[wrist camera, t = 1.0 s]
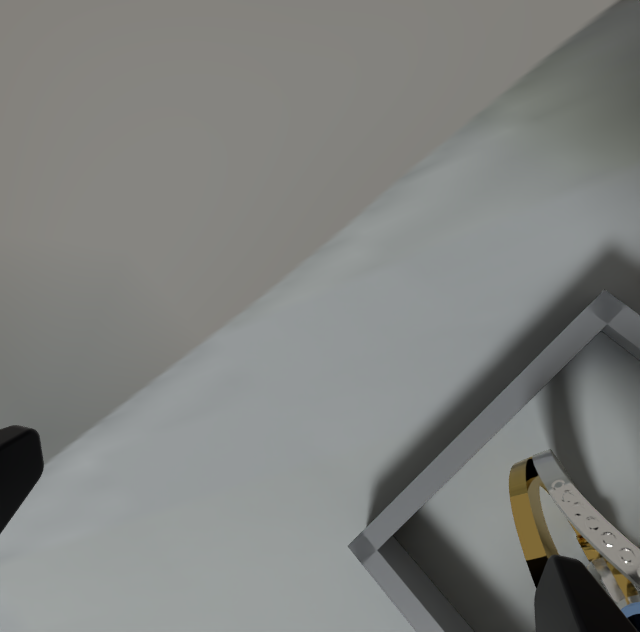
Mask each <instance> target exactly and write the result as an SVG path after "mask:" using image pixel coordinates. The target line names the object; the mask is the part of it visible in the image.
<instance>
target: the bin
mask: <svg viewBox="0 0 640 632" xmlns="http://www.w3.org/2000/svg"><path fill="white" fill-rule="evenodd" d="M600 331H603V332H604V333H605V334H606V335H608V336H609V337H610V338H612V339H613V340H614V341H615V342H617V343H618V344H619V345H620V346H622V347H623V348H624V349H626V350H627V351H628V352H629V353H631V354H632V355H633V356H635V357H636V358H637V359H638V360H640V315H639V314H637V313H636V312H635V311H633V310H632V309H631V308H629V307H628V306H627V305H625V304H624V303H623V302H621V301H620V300H618V299H617V298H616V297H614V296H613V295H612V294H610V293H609V292H608V291H606V290H605V289H604V290H603V291H602V292H601V293H600V294H599V295H598V296H597V297H596V298H595V299H594V300H593V301H592V302H591V303H590V304H589V305H588V306H587V307H586V308H585V309H584V310H583V311H582V312H581V313H580V314H579V315H578V316H577V317H576V318H575V319H574V320H573V321H572V322H571V323H570V324H569V325H568V326H567V327H566V328H565V329H564V330H563V331H562V332H561V333H560V334H559V335H558V336H557V337H556V338H555V339H554V340H553V341H552V342H551V343H550V344H549V345H548V346H547V347H546V348H545V349H544V350H543V351H542V352H541V353H540V354H539V355H538V356H537V357H536V358H535V359H534V360H533V361H532V362H531V363H530V364H529V365H528V366H527V367H526V368H525V369H524V370H523V371H522V372H521V373H520V374H519V375H518V376H517V377H516V378H515V379H514V380H513V381H512V382H511V383H510V384H509V385H508V386H507V387H506V388H505V389H504V390H503V391H502V392H501V393H500V394H499V395H498V396H497V397H496V398H495V399H494V400H493V401H492V402H491V403H490V404H489V405H488V406H487V407H486V408H485V409H484V410H483V411H482V412H481V413H480V414H479V415H478V416H477V417H476V418H475V419H474V420H473V421H472V422H471V423H470V424H469V425H468V426H467V427H466V428H465V429H464V430H463V431H462V432H461V433H460V434H459V435H458V436H457V437H456V438H455V439H454V440H453V441H452V442H451V443H450V444H449V445H448V446H447V447H446V448H445V449H444V450H443V451H442V452H441V453H440V454H439V455H438V456H437V457H436V458H435V459H434V460H433V461H432V462H431V463H430V464H429V465H428V466H427V467H426V468H425V469H424V470H423V471H422V472H421V473H420V474H419V475H418V476H417V477H416V478H415V479H414V480H413V481H412V482H411V483H410V484H409V485H408V486H407V487H406V488H405V489H404V490H403V491H402V492H401V493H400V494H399V495H398V496H397V497H396V498H395V499H394V500H393V501H392V502H391V503H390V504H389V505H388V506H387V507H386V508H385V509H384V510H383V511H382V512H381V513H380V514H379V515H378V516H377V517H376V518H375V519H374V520H373V521H372V522H371V523H370V524H369V525H368V526H367V527H366V528H365V529H364V530H363V531H362V532H361V533H360V534H359V535H358V536H357V537H356V538H355V539H354V540H353V541H352V542H351V543H350V544H349V545H348V547H349V549H350V550H351V551H352V552H353V554H354V555H355V556H356V557H357V559H358V560H359V561H360V562H361V564H362V565H363V566H364V567H365V569H366V570H367V571H368V572H369V574H370V575H371V576H372V577H373V579H374V580H375V581H376V582H377V584H378V585H379V586H380V587H381V589H382V590H383V591H384V592H385V594H386V595H387V596H388V597H389V599H390V600H391V601H392V602H393V603H394V605H395V606H396V607H397V608H398V610H399V611H400V612H401V613H402V615H403V616H404V617H405V618H406V620H407V621H408V622H409V623H410V625H411V626H412V627H413V628H414V630H415V631H416V632H474V631H473V630H472V628H471V627H470V626H469V625H468V624H467V622H466V621H465V620H464V619H463V618H462V617H461V615H460V614H459V613H458V612H457V611H456V610H455V608H454V607H453V606H452V605H451V604H450V602H449V601H448V600H447V599H446V598H445V597H444V595H443V594H442V593H441V592H440V591H439V590H438V588H437V587H436V586H435V585H434V584H433V582H432V581H431V580H430V579H429V578H428V577H427V575H426V574H425V573H424V572H423V571H422V570H421V568H420V567H419V566H418V565H417V564H416V562H415V561H414V560H413V559H412V558H411V557H410V555H409V554H408V553H407V552H406V551H405V550H404V548H403V547H402V546H401V545H400V544H399V543H398V541H397V540H396V539H395V538H394V537H393V534H394V533H395V532H396V531H397V530H398V529H399V528H400V527H401V526H402V525H403V524H404V523H405V522H406V521H408V520H409V519H410V518H411V517H412V516H413V515H414V514H415V513H416V512H417V511H418V510H419V509H420V508H421V507H422V506H423V505H424V504H425V503H426V502H427V501H428V500H429V499H430V498H431V497H432V496H433V495H434V494H435V493H436V492H437V491H438V490H439V489H440V488H441V487H442V486H443V485H444V484H445V483H446V482H447V481H448V480H449V479H450V478H451V477H452V476H453V475H454V474H455V473H456V472H457V471H458V470H459V469H460V468H461V467H463V466H464V465H465V464H466V463H467V462H468V461H469V460H470V459H471V458H472V457H473V456H474V455H475V454H476V453H477V452H478V451H479V450H480V449H481V448H482V447H483V446H484V445H485V444H486V443H487V442H488V441H489V440H490V439H491V438H492V437H493V436H494V435H495V434H496V433H497V432H498V431H499V430H500V429H501V428H502V427H503V426H504V425H505V424H506V423H507V422H508V421H509V420H510V419H511V418H512V417H513V416H514V415H515V414H516V413H517V412H519V411H520V410H521V409H522V408H523V407H524V406H525V405H526V404H527V403H528V402H529V401H530V400H531V399H532V398H533V397H534V396H535V395H536V394H537V393H538V392H539V391H540V390H541V389H542V388H543V387H544V386H545V385H546V384H547V383H548V382H549V381H550V380H551V379H552V378H553V377H554V376H555V375H556V374H557V373H558V372H559V371H560V370H561V369H562V368H563V367H564V366H565V365H566V364H567V363H568V362H569V361H570V360H571V359H572V358H574V357H575V356H576V355H577V354H578V353H579V352H580V351H581V350H582V349H583V348H584V347H585V346H586V345H587V344H588V343H589V342H590V341H591V340H592V339H593V338H594V337H595V336H596V335H597V334H598V333H599V332H600Z"/></svg>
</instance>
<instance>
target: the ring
mask: <svg viewBox="0 0 640 632" xmlns="http://www.w3.org/2000/svg"><path fill="white" fill-rule="evenodd" d="M539 486H541V487H542V488H544V489H545V490H546V491H547V492H548V493H549V495H550V496H551V497H552V499H553V501H554V502H555V504H556V505H557V507H558V508H559V509H560V511H561V512H562V513H563V515H564V516H565V517H566V518H567V519H568V521H569V522H570V524H571V526H572V527H573V529H574V531H575V532H576V534H577V536H576V537H577V540H578V542H579V544H580V545H581V547H582V549H583V551H584V553H585V555H586V557H587V558H588V560H589V561H590V562H591V561H592V563H593V565H594V566H595V568H596V569H595V568H594V566H593V565H592V564H589V565H587V567H586V568H587V569H588V570H589V572H590V573H591V574H592V575H593V577H594V578H595V579H596V580H597V581H598V583H599V584H600V585H601V586H602V588H603V589H604V590H605V591H606V589H605V587H604V585H603V584H602V582H601V581H600V580H601V579H602V581H603V582H604V584H605V586H606V588H607V590H608V591H609V593H610V595H611V597H612V600H613V601H614V602H615V604H616V605H617V606H618V607H619V608H620V610H621V611H622V612H623V613H624V615H625V616H626V617H627V618H628V620H629V621H630V622H631V623H632V624H633V626H634V627H635V628H636V629H637V631H638V632H640V591H637V590H636V588H635V586H636V587H637V588H639V589H640V549H639V548H637V547H636V546H635V545H634V544H633V543H632V542H630V541H629V540H628V539H627V538H626V537H625V536H624V535H622V534H621V533H620V532H619V531H618V530H617V529H616V528H615V527H614V526H613V525H611V524H610V523H609V522H608V521H607V520H606V519H605V518H604V517H603V516H602V515H601V514H600V513H599V512H598V511H597V510H596V509H595V508H594V507H593V506H592V505H591V504H590V503H589V502H588V501H587V500H586V499H585V498H584V497H583V496H582V494H581V493H580V492H579V490H578V489H577V487H576V485H575V484H574V482H573V481H572V479H571V477H570V476H569V474H568V473H567V471H566V470H565V468H564V467H563V465H562V464H561V462H560V461H559V459H558V458H557V457H556V455H555V454H554V453H553V451H552V450H551V449H549V450H546V451H543V452H540V453H538V454H535V455H533V456H532V457H529V458H527V459H524V460H522V461H520V462H517V463H515V464H514V465H513V466H512V468H511V471H510V476H509V493H510V501H511V507H512V512H513V517H514V521H515V525H516V529H517V533H518V536H519V540H520V543H521V546H522V550H523V553H524V556H525V559H526V562H527V565H528V567H529V570H530V573H531V576H532V578H533V581H534V584H535V586H536V589H537V586H538V584H539V581H540V579H541V576H542V573H543V571H544V568H545V566H546V563H547V561H548V559H549V557H550V556H551V555H559V554H558V552H557V549H556V547H555V545H554V543H553V540H552V538H551V535H550V533H549V530H548V527H547V525H546V522H545V518H544V515H543V511H542V507H541V502H540V495H539ZM633 584H634V585H635V586H634V585H633ZM606 593H607V591H606ZM607 594H608V593H607Z"/></svg>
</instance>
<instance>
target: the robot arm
mask: <svg viewBox="0 0 640 632" xmlns="http://www.w3.org/2000/svg"><path fill="white" fill-rule="evenodd" d="M43 468H44V461H43V455H42V449H41V442H40V436H39V434H38V432H37V431H36V430H34V429H32V428H28V427H23V426H19V425H13V426H9V427H6V428H3V429H0V534H1V532H2V531H3V529H4V528H5V527H6V525H7V524H8V522H9V521H10V520H11V518H12V517H13V515H14V514H15V512H16V511H17V510H18V508H19V507H20V505H21V504H22V503H23V501H24V500H25V498H26V497H27V496H28V494H29V493H30V491H31V490H32V489H33V487H34V486H35V484H36V483H37V481H38V480H39V478H40V477H41V475H42V472H43ZM534 606H535V624H536V632H638V631H637V629H636V628H635V627H634V626H633V624H632V623H631V622H630V621H629V620H628V618H627V617H626V616H625V615H624V613H623V612H622V611H621V610H620V608H619V607H618V606H617V605H616V604H615V602H614V601H613V600H612V599H611V597H610V596H609V595H608V594H607V593H606V591H605V590H604V589H603V588H602V586H601V585H600V584H599V583H598V581H597V580H596V579H595V578H594V577H593V575H592V574H591V573H590V572H589V570H588V569H587V568H586V567H585V565H584V564H583V563H581V562H580V561H579V560H577V559H573V558H569V557H565V556H560V555H551V556H550V557H549V559H548V561H547V563H546V566H545V568H544V571H543V573H542V576H541V579H540V581H539V584H538V586H537V589H536V593H535V603H534Z"/></svg>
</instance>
